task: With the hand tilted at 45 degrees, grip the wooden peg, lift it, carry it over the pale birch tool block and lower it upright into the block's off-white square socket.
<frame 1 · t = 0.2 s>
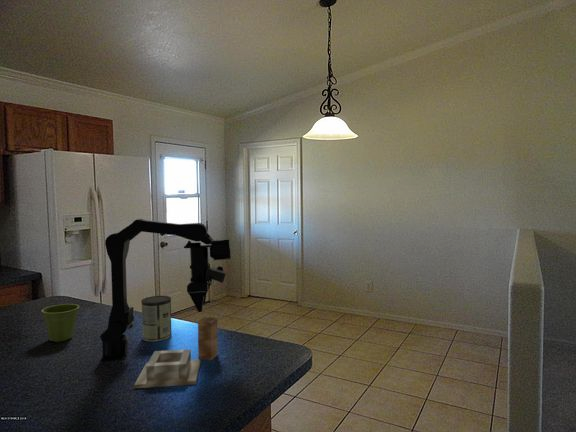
hand: (201, 308, 124), 14 cm above the countertop, fingers open, 9 cm apart
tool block: (169, 374, 108), on the countertop
drill bit: (125, 326, 150), on the countertop
coffee can: (156, 337, 138), on the countertop
plant pot: (61, 339, 136), on the countertop
wooden peg: (208, 356, 120), on the countertop
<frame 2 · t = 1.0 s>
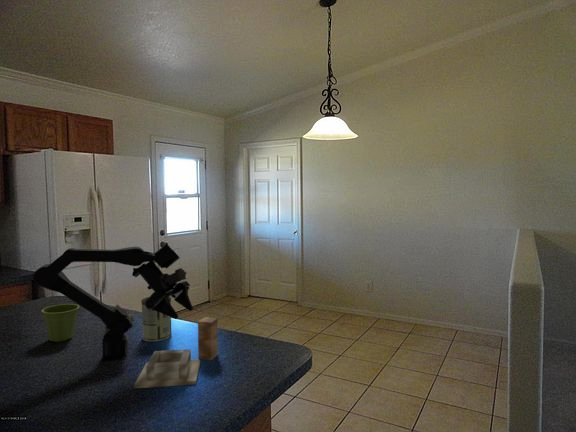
hand: (184, 313, 122), 13 cm above the countertop, fingers open, 9 cm apart
nothing on the countertop moved.
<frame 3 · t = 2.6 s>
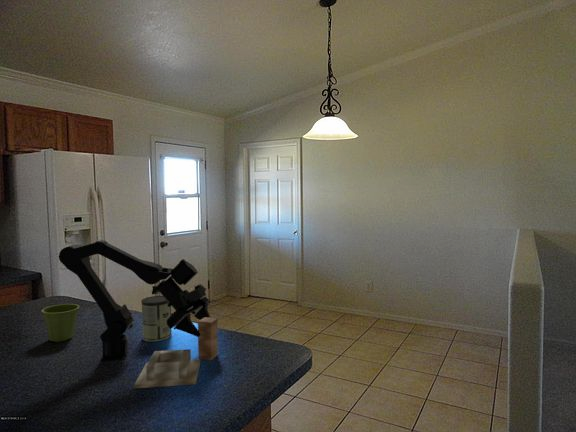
hand: (206, 330, 120), 8 cm above the countertop, fingers open, 9 cm apart
nothing on the countertop moved.
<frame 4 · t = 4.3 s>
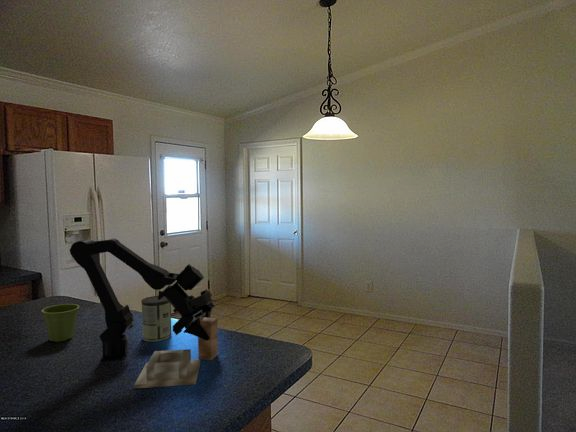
hand: (211, 336, 120), 7 cm above the countertop, fingers closed on wooden peg, 4 cm apart
wooden peg: (208, 356, 120), on the countertop, touching gripper
everything else where it was.
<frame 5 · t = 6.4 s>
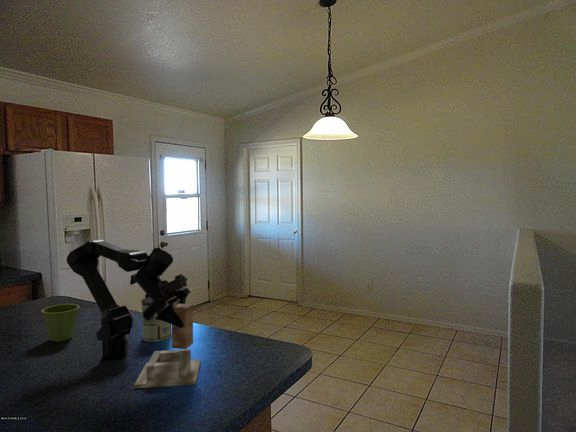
hand: (186, 324, 111), 13 cm above the countertop, fingers closed on wooden peg, 4 cm apart
wooden peg: (182, 345, 112), point 7 cm above the countertop, touching gripper
everything else where it was.
when the fingers open (9 cm above the countertop, at t = 8.6 s): wooden peg drops 1 cm, resting on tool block.
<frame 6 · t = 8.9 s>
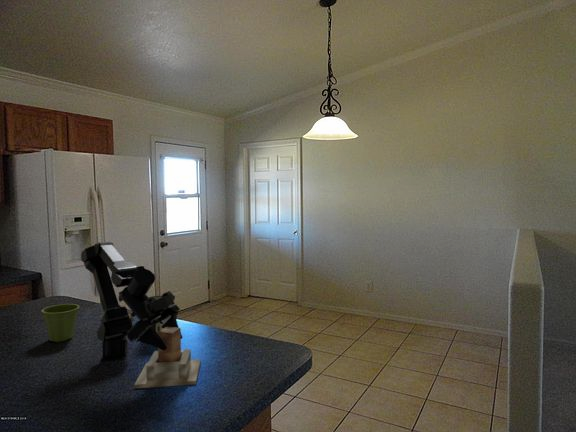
hand: (173, 343, 107), 9 cm above the countertop, fingers open, 8 cm apart
wooden peg: (169, 371, 108), point 1 cm above the countertop, touching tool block
everything else where it was.
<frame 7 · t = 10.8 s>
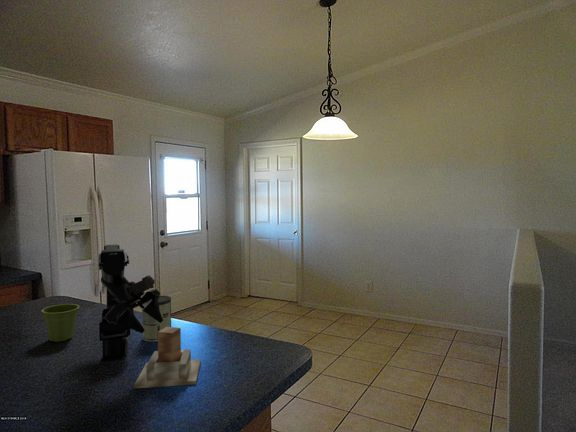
hand: (153, 326, 109), 13 cm above the countertop, fingers open, 9 cm apart
nothing on the countertop moved.
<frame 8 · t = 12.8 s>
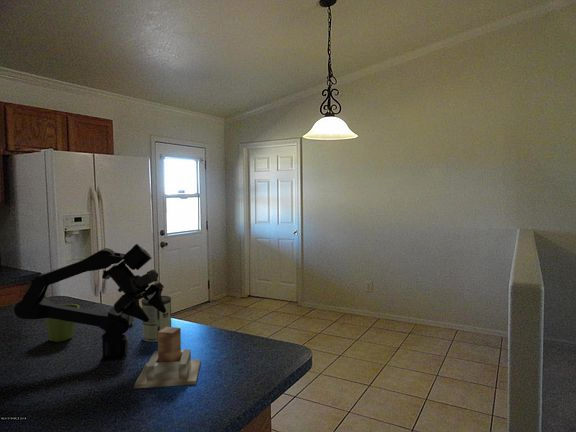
hand: (157, 316, 118), 14 cm above the countertop, fingers open, 9 cm apart
nothing on the countertop moved.
at the end: wooden peg 0.0 cm off-centre on the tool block, point 1.0 cm above the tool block's base; wooden peg tilted 0°; the gripper is holding nothing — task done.
